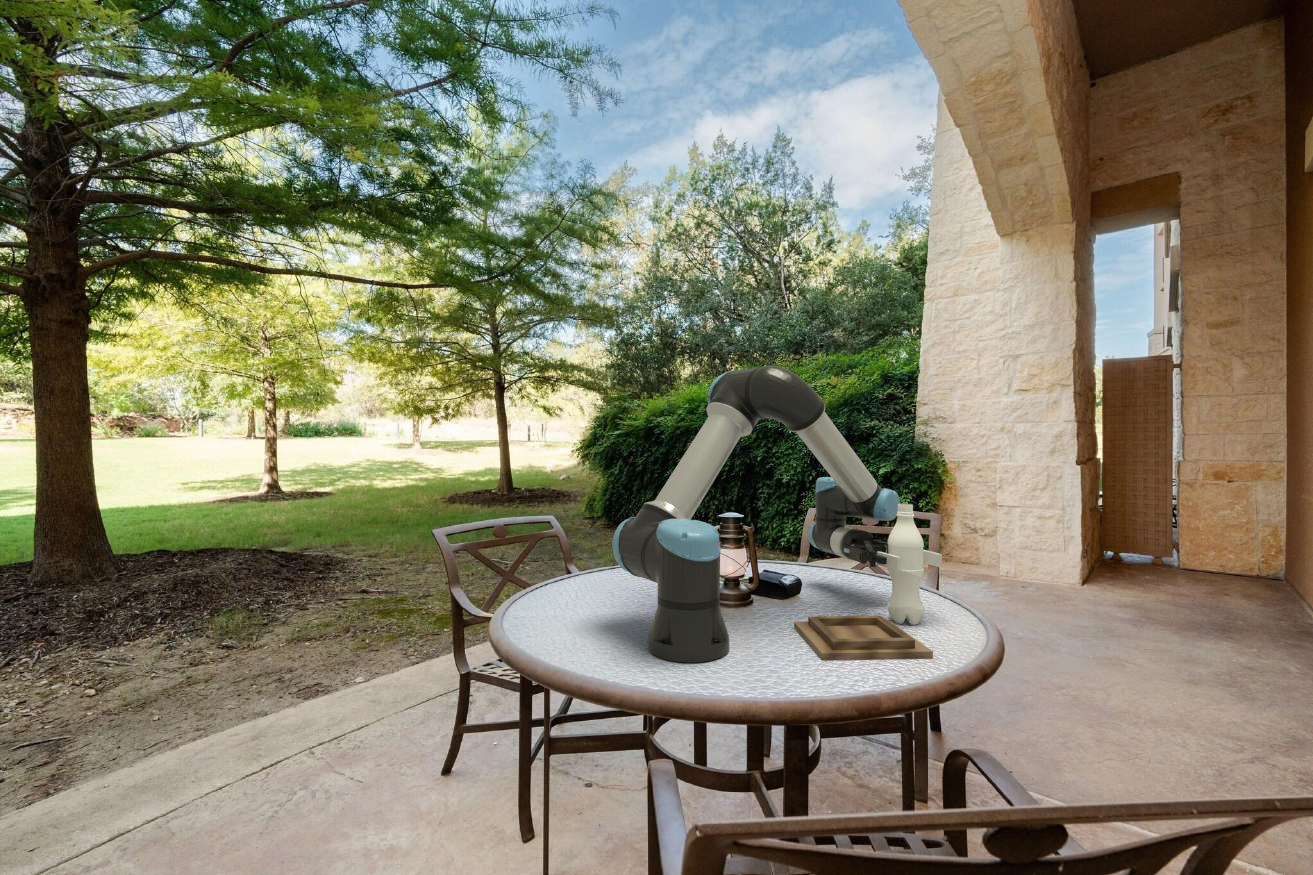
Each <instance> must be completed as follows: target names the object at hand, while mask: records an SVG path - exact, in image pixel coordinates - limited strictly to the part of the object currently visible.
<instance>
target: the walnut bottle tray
mask: <svg viewBox="0 0 1313 875" xmlns="http://www.w3.org/2000/svg"><path fill="white" fill-rule="evenodd" d="M807 617H808V618H807V621H793V628H794V629H795V631H796V632H797V633H798V634H799V635H800V636H801V637H802V639H803V640H804V641H805V642H806V643H807V644H808V646H809V647H810V648H811V649H812V650H813V651H814V652H815V655H816V656H818V657H819V658H820V659H821V661H834V660H835V661H842V660H843V661H844V660H847V661H848V660H850V661H851V660H901V659H903V660H905V659H907V660H909V659H934V651H933V650H932V649H930V648H929V647H927V646H926V645H924V644H923V643H921V642H920V641H919V640H917V639H916V638H915V637H913V636H911V635H910V634H909V633H908V632H906V631H905V630H903V629H902V628H900V627H898V625H896V624H894V623H893V622H892V621H891V620H887V619H886V618H884V617H883V616H882V615H828V616H827V615H825V616H821V615H820V616H816V615H815V616H811V615H810V616H807Z"/></svg>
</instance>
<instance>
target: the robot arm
mask: <svg viewBox="0 0 1313 875" xmlns="http://www.w3.org/2000/svg"><path fill="white" fill-rule="evenodd" d="M707 397H708V399H707V406H706V414H707V416H708V417H707V419H706V420H705V422H704V423H703V425H702V426H701V427H700V429H699V431H698V432H697V434H696V435H695V437H694V438H693V440H692V441H691V443H690V445H689V446H688V448H687V449H686V451H685V453H684V454H683V456H682V457H681V459H680V461H679V462H678V464H677V465H676V467H675V468H674V470H673V471H672V473H671V475H670V476H669V478H668V479H667V480H666V482H665V484H664V486H663V487H662V488H661V490H660V492H659V493H658V495H657V496H656V497H655V500H652V501H648V502H645V503H644V504H643V505H642V506H641V508H640V509H639V511H638V513H637V514H636V516H632V517H629V518H627V519H624V521H622V522H621V523H620V524H619V525H618V527H617V528H616V529H615V531H614V534H613V537H612V542H611V543H612V552H613V554H612V555H613V557H614V559H615V561H616V563H617V565H618V566H619V567H620V568H621V569H622V570H624V571H625V572H628V573H629V574H630V575H632V576H634V577H637V578H642V579H645V580H648V581H651V582H654V583H656V584H657V607H656V611H655V613H654V617H653V619H652V624H651V626H650V630H649V633H648V638H647V641H648V642H647V643H648V646H647V647H648V651H649V652H650V653H651V654H652V655H654V656H655V657H658V658H660V659H663V660H665V661H672V662H676V663H677V662H678V663H702V662H710V661H715V660H717V659H720V658H723V657H725V655H727V654H729V651H730V635H729V632H728V630H727V626H726V623H725V620H724V617H723V613H722V610H721V604H720V603H721V602H720V600H721V599H720V593H721V592H720V591H721V590H720V589H721V588H720V587H721V581H720V580H721V545H720V534H719V531H718V530H717V529H716V528H715V526H714V525H712V524H710V523H707V522H704V521H701V520H696V519H692V518H693V516H694V515H695V512H697V510H698V508H699V507H700V505H701V503H702V501H703V499H704V498H705V496H706V494H707V493H708V491H709V490H710V488H711V486H712V485H713V483H714V482H715V480H716V478H717V476H718V475H719V473H720V471H722V468H723V467H724V465H725V463H726V462H727V460H728V458H729V457H730V455H731V454H732V452H733V450H734V448H735V447H736V445H737V444H738V441H739V440H740V438H741V437H747V436H749V435H751V433H752V431H753V430H754V428H755V427H756V425H757V423H758V422H759V420H769V419H772V420H775V421H778V422H780V423H782V424H783V425H784V427H786V429H787V430H788V431H789V432H793V433H796V434H797V435H798V436H799V437H800V439H801V440H802V441H803V443H804V444H805V445H806V447H807V448H808V449H809V450H810V452H811V453H812V455H813V456H815V458H816V459H817V460H818V462H819V463H820V464H821V465H822V467H823V468H824V469H825V471H827V473H828V474H829V475H830V476H823V477H818V478H817V480H816V481H815V492H814V495H815V496H814V497H815V498H814V499H815V519H814V520H815V521H814V522H813V523H812V524H811V525H810V527H809V528H808V531H807V538H808V541H809V543H810V544H811V546H812V547H814V548H816V549H818V550H820V551H821V552H824V553H829V554H832V555H836V556H838V557H841V558H843V559H844V558H845V559H847V560H850V561H855V562H858V563H860V564H862V565H865V564H867V562H869V567H870V568H876V567H877V565H878V566H882V567H885V568H887V569H888V568H891V569H894V570H897V571H900V570H901V557H898V556H894V555H891V554H888V541H882V540H879V539H875V537H874V535H873V534H872V533H870V532H869V531H867V530H863V529H857V528H853V527H849V525H848V524H847V523H846V521H847V518H846V517H852V518H854V517H855V518H859V519H867V520H873V521H886V522H887V521H888V522H889V521H893V520H894V519H895V518H896V517H898V516H897V515H896V514H898V512H897V511H898V504H901V500H900V497H899V495H898V493H897V491H895V490H893V489H888V488H886V487H885V488H882V487H881V486H880V485H879V483H878V482H877V480H875V478H874V477H873V475H872V474H871V473H870V471H869V470H868V469H867V467H866V465H864V463H863V462H862V461H861V459H860V458H859V456H858V455H857V454H856V452H855V450H854V449H853V448H852V447H851V446H850V444H849V442H848V441H847V440H846V439H845V437H844V436H843V435H842V433H841V432H840V431H839V429H838V428H837V426H836V425H835V424H834V423H833V421H832V419H831V418H830V417H829V416H828V414H827V413H826V412H825V411H826V403H825V402H824V401H823V399H822V397H820V396H819V394H818V393H817V392H816V391H815V390H814V388H813V387H812V386H810V384H809V383H807V382H806V381H805V380H804V379H803V378H801V377H800V376H798V374H796V373H794V372H792V371H791V370H789V369H787V368H785V367H782V366H779V365H778V366H777V365H763V366H758V367H752V368H746V369H734V370H730V371H727V372H724V373H721V375H718V376H717V377H716V378H715V379H714V380H713V381H712V382H711V384H710V386H709V389H708V392H707ZM923 564H924V565H925V564H926V565H930V566H933V567H937V568H942V567H943V553H942V554H941V553H938V552H934V551H931V550H928V548H927V547H925V546H924V547H923Z"/></svg>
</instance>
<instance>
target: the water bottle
mask: <svg viewBox="0 0 1313 875" xmlns="http://www.w3.org/2000/svg"><path fill="white" fill-rule="evenodd" d="M913 509H914V504H910V503H900V504H898V511H897V512H898V514H896V515H897V516H896V517H897V519H896V522H895V524H894V526H893V528H892V529H891V531H890V533H889V535H888V538H887V542H888V554H891V555H894V556H898V557H901V570H900V571H897V570H894V569H891V568H887V571H888V573H889V576H890V580H891V595H890V597H889V601H888V603H887V610H888V615H889V616H890V618H891V619H892V620H893V621H894V622H895V623H897V624H900V625H903V624H904V623H905V620H906V619H907V621H908V623H909V624H910V625H912V626H914V625H917V624H919V623H920V622H921V620H922V619H923V617H924V615H925V614H924V613H925V608H924V605H923V603H922V600H921V595H920V587H921V583H922V581H921V580H922V579H923V576H924V574H925V568H924V563H923V547H925V545H924V538H923V536H922V535H921V533H920V531H919V529H918V527H917V526H916V523H915V520H914V517H915V514H914V510H913Z"/></svg>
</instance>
